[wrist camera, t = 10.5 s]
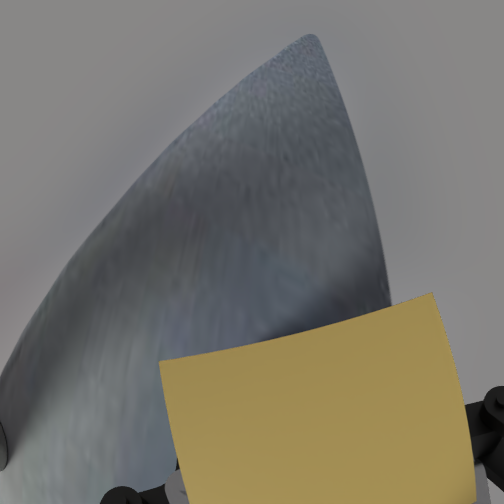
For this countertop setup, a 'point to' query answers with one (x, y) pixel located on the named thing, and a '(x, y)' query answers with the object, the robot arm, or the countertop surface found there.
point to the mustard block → (326, 416)
